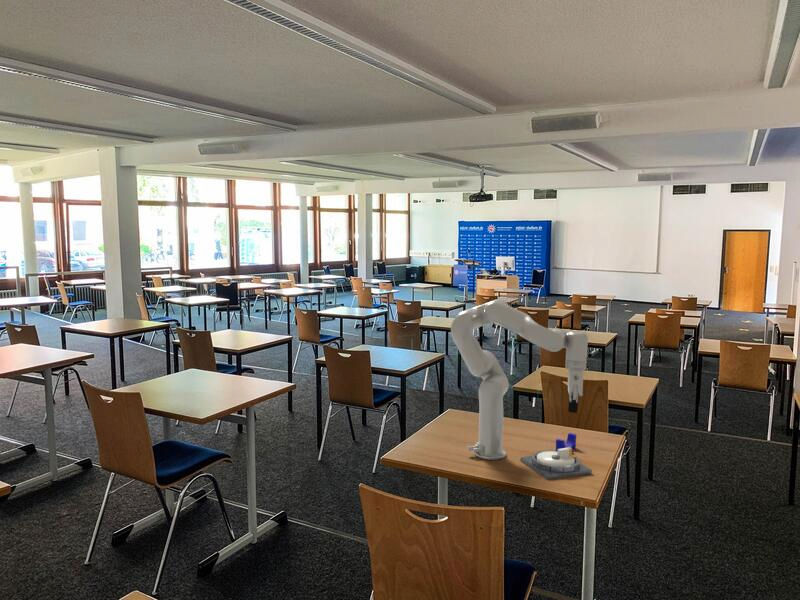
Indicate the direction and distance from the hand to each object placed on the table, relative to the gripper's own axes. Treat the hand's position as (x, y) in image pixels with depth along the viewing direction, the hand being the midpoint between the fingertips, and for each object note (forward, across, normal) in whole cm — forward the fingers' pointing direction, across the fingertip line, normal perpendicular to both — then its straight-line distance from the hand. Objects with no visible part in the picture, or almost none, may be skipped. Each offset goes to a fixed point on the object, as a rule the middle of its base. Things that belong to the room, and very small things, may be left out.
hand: (572, 411), depth 221 cm
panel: (+22, -1, +5) cm, 22 cm away
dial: (+20, -1, +5) cm, 21 cm away
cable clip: (+22, +18, 0) cm, 29 cm away
